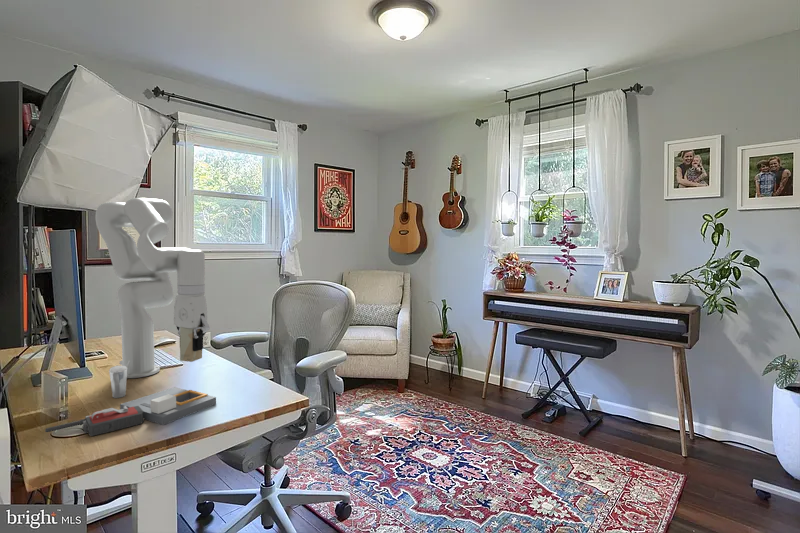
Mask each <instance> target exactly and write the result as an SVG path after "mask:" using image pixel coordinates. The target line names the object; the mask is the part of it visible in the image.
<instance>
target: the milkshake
mask: <svg viewBox="0 0 800 533" xmlns="http://www.w3.org/2000/svg"><path fill="white" fill-rule="evenodd" d="M128 364H129V361H128ZM128 364H127V366H128ZM127 366H122V365H119V364H118V365H115V366H111V367H110V369H109V370H108V374H109V378H110V383H111V384H110V385H111V393H112V398H113V399H121V398H124V397H126V395H127V392H126V391H127V379H128V378H127Z"/></svg>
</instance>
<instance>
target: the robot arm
mask: <svg viewBox="0 0 800 533" xmlns="http://www.w3.org/2000/svg"><path fill="white" fill-rule="evenodd" d="M173 213H174V212H173V208H172V206H171V204H170V203H169V202H167V201H166V200H163V199H159V198H148V197H134V198H133V197H132V198H129V199H128V200H127V201H126V202H123V201H108V202H103V203H101V204H99V205H98V206H97V208H96V210H95V215H94V216H95V224H96V229H97V230H98V233H99V235H100V236H101V237H102V238H101V239H103V241H104V243H105V244H106V247H107V250H108V254H109V257H110V260H111V265H112V267H113V270H114V273H115V276H116V277H117V279H119V280H121V281H131V282H127V283H124V284H121V286H119V288H118V289H117V291H116V300H117V305H118V310H119V315H120V327H121V328H120V329H121V355H122V356H121V357H122V358H121V359H122V360H120V361H119V366H127V364H128V361H129V364H128V366H127V379H137V378H144V377H148V376H149V377H150V376H152V375H155V374H157V373H159V372H160V371H161V368H160V367H161V366H158V365H156V364H155V363H156V362H155V336H154V334H155V333H154V331H155V330H154V327H155V326H154V320H153V318H152V316H151V315H150V314H149V313H148V311H147V309H153V308H161V307H162V308H163V307H167V306H169V305H171V303H173V301H174V298H175V301H174V305H173V307H174V308H173V325H175V327H176V330H177V334H178V336H180V325H181V327H183V328H187V329H193V333H194V337H195V338H193V351H198V350H202V351H203V350H204V337H205V335H206V333H207V332H208V331H209V330H210V325H209V324H208V307H207V299H206V295H205V294H206V293H205V292H206V285H205V284H206V283H205V280H206V277H205V275H206V271H205V269H206V267H205V266H206V265H205V264H206V262H205V260H206V259H205V258H206V257H205V252H204V251H203V250H201V249H192V248H189V247H157V246H156V245H155V244H157V243H158V242H161V241H162V240H164V238H166V236H167V235H168V234H169V225H168V224H169V223H170V222H171V221H172V218H173V217H174V216H173ZM123 228H134V229H135V230H136V231H137V233H138V234H139V236H138V239H137V241H135V239H134V237H133V236H132V235H130V233H129V232H127V231H126V230H124V229H123ZM136 242H137V243H136ZM174 272H175V273H177V274H176V275H177V293H176V295H175V290H174V286H173V284H172V280H171V277H170V274H169V273H174ZM139 280H140V281H139ZM198 326H199V327H198ZM197 329H199V330H200V331H199V332H197Z"/></svg>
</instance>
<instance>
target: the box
mask: <svg viewBox="0 0 800 533" xmlns="http://www.w3.org/2000/svg"><path fill="white" fill-rule="evenodd" d="M198 327H199V326H198ZM199 331H200V330H199V329H197V332H199ZM193 338H195V337H194V333H193V329H187V328H183V327H181V325H180V335H179V361H180V362H190V363H192V362H195V361H198V360H200V359H202V358H203V349H202V350H198V351H193Z"/></svg>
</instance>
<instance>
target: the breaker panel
mask: <svg viewBox="0 0 800 533" xmlns="http://www.w3.org/2000/svg"><path fill="white" fill-rule="evenodd" d="M168 394H170V395H173V396H176V408H173V409H170V410H168V411H165V412H162V413H159V414H157V413H154V412H151V400H153V399H156V398H159V397H162V396H165V395H168ZM215 405H217V397H216V396H213V395H208V393H204V392H201V391H197V390H192V389H183V388H180V387H176V386H173V387H169V388H167V389H164V390H161V391H157V392H155V393H152V394H149V395H145V396H142V397H139V398H136V399H133V400H129V401H126V402H123V403H120V405H119V410H121V409H124V408H123V407H124V406H126V407H127V408H130V407H134V406H139V407H140V408H141V409H142V410H143V420H146V421H149V422H152V423H154V424H155V423H156V424H158V425H160V426H164V425H167V424H169V423H172V422H174V421H177V420H179V419H182V418H184V417H188V416H189V415H190V416H191V415H192V414H194V413H197V412H199V411H202V410H205V409H208V408H210V407H212V406H215Z"/></svg>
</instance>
